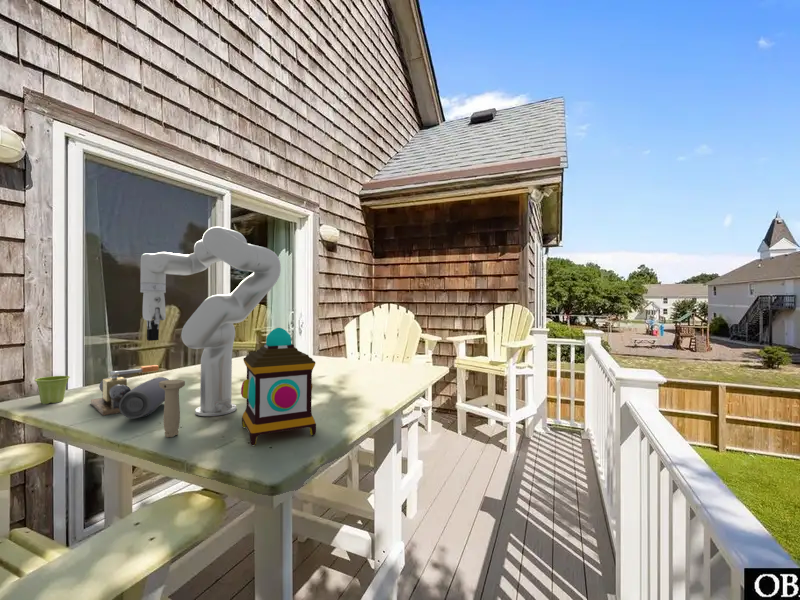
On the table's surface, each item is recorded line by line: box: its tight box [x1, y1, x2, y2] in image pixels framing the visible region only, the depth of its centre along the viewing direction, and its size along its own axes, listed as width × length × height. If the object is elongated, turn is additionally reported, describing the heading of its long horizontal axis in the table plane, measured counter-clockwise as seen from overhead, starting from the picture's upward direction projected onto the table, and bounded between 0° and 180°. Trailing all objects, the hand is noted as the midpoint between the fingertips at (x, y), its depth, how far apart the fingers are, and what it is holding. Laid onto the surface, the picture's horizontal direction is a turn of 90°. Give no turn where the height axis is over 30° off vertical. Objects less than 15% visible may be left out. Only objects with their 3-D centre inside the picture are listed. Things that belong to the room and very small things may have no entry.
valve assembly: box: [90, 375, 132, 416], centre depth 135 cm, size 20×12×11 cm, turn 48°
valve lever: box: [109, 364, 159, 377], centre depth 139 cm, size 14×3×2 cm, turn 138°
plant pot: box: [34, 375, 71, 405], centre depth 139 cm, size 9×9×9 cm
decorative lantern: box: [240, 327, 317, 446], centre depth 110 cm, size 20×20×30 cm
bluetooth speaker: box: [119, 376, 170, 419], centre depth 128 cm, size 23×9×10 cm, turn 15°
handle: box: [159, 379, 186, 438], centre depth 106 cm, size 5×6×15 cm
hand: (152, 340), depth 136 cm, fingers closed
